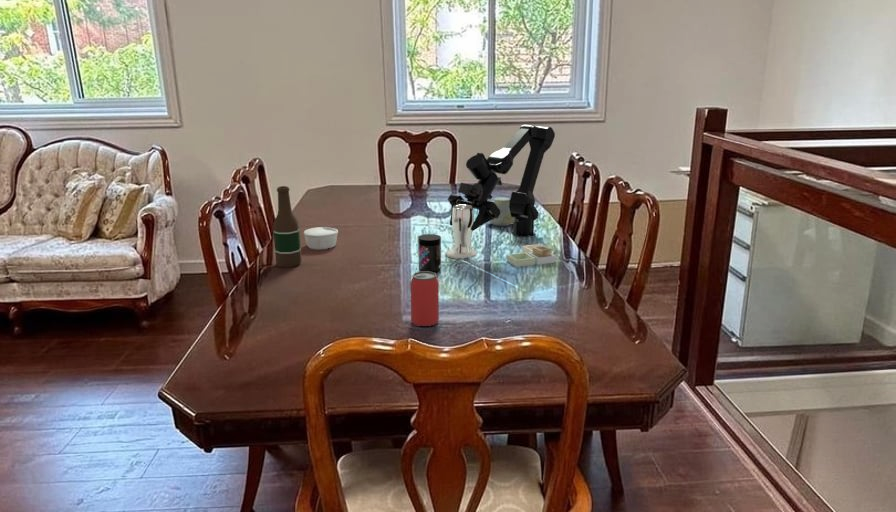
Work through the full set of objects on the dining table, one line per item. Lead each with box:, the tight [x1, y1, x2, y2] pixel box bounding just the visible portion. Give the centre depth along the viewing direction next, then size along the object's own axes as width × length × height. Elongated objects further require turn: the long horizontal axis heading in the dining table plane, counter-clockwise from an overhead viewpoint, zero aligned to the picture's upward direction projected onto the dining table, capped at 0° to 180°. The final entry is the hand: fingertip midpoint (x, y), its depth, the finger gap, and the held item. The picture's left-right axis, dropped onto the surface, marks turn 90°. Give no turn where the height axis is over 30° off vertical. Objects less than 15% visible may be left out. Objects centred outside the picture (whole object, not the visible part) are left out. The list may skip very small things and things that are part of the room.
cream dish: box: [521, 243, 544, 254], centre depth 196 cm, size 6×6×2 cm
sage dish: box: [506, 252, 536, 268], centre depth 187 cm, size 6×6×2 cm
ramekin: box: [303, 226, 339, 251], centre depth 206 cm, size 11×11×5 cm
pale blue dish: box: [528, 252, 557, 266], centre depth 189 cm, size 6×6×2 cm
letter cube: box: [533, 245, 552, 258], centre depth 189 cm, size 4×4×4 cm
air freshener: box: [488, 196, 515, 227], centre depth 232 cm, size 11×8×10 cm
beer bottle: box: [272, 185, 302, 269], centre depth 184 cm, size 8×8×24 cm
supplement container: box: [417, 233, 442, 274], centre depth 180 cm, size 7×7×10 cm
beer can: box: [409, 271, 440, 327], centre depth 144 cm, size 7×7×12 cm
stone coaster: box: [445, 248, 478, 260], centre depth 197 cm, size 10×10×1 cm
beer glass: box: [451, 204, 475, 255], centre depth 195 cm, size 7×7×15 cm
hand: (461, 227), depth 194 cm, fingers open, 9 cm apart
